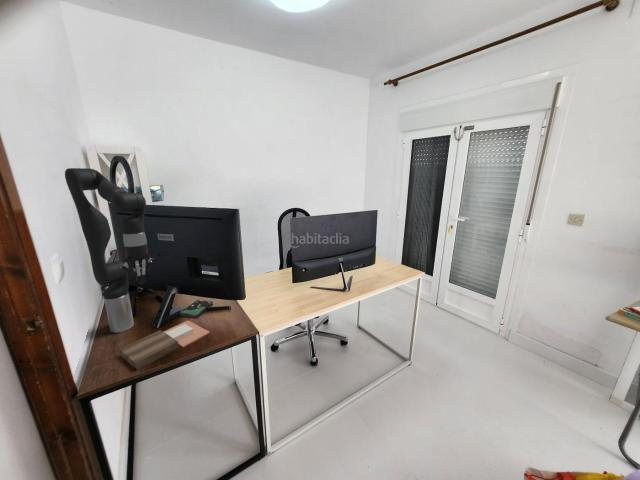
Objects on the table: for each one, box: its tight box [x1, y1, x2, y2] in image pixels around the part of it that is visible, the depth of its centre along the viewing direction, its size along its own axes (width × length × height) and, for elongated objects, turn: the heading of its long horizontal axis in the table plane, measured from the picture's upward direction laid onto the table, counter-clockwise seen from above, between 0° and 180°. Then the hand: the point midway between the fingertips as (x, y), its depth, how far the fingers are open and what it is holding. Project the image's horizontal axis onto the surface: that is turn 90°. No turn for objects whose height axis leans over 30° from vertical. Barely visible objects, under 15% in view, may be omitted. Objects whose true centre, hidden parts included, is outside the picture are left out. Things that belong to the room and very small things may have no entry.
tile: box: [165, 324, 193, 341], centre depth 118 cm, size 7×9×2 cm
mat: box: [163, 320, 211, 348], centre depth 120 cm, size 18×13×1 cm
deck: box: [119, 329, 180, 371], centre depth 107 cm, size 15×16×3 cm
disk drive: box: [179, 299, 214, 319], centre depth 141 cm, size 10×3×15 cm
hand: (141, 283), depth 106 cm, fingers closed
